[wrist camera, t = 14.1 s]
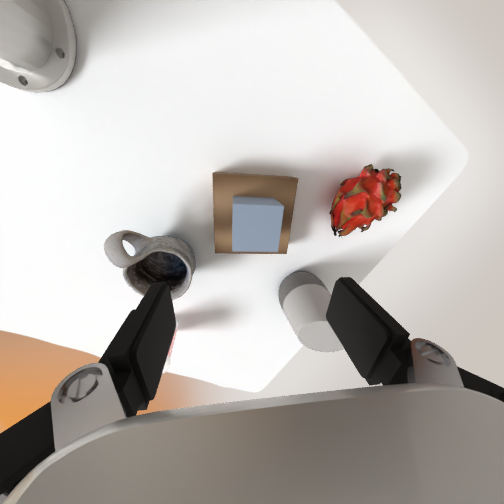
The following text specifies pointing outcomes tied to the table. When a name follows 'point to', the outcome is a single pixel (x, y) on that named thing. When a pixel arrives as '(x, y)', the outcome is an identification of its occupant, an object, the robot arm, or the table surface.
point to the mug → (152, 261)
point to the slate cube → (256, 224)
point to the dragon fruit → (364, 199)
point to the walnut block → (250, 187)
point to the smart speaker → (308, 311)
